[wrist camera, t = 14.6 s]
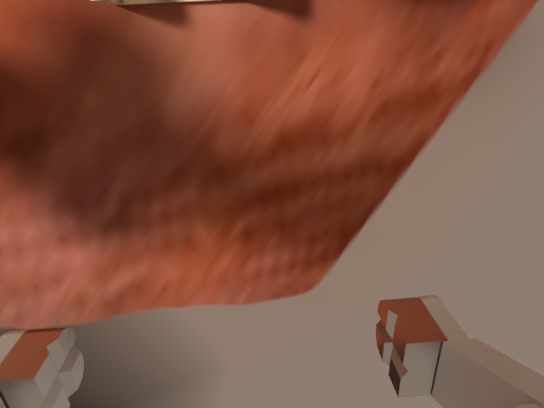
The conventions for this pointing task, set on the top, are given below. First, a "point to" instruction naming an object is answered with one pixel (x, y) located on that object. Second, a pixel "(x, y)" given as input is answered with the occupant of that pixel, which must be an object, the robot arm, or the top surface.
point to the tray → (144, 1)
